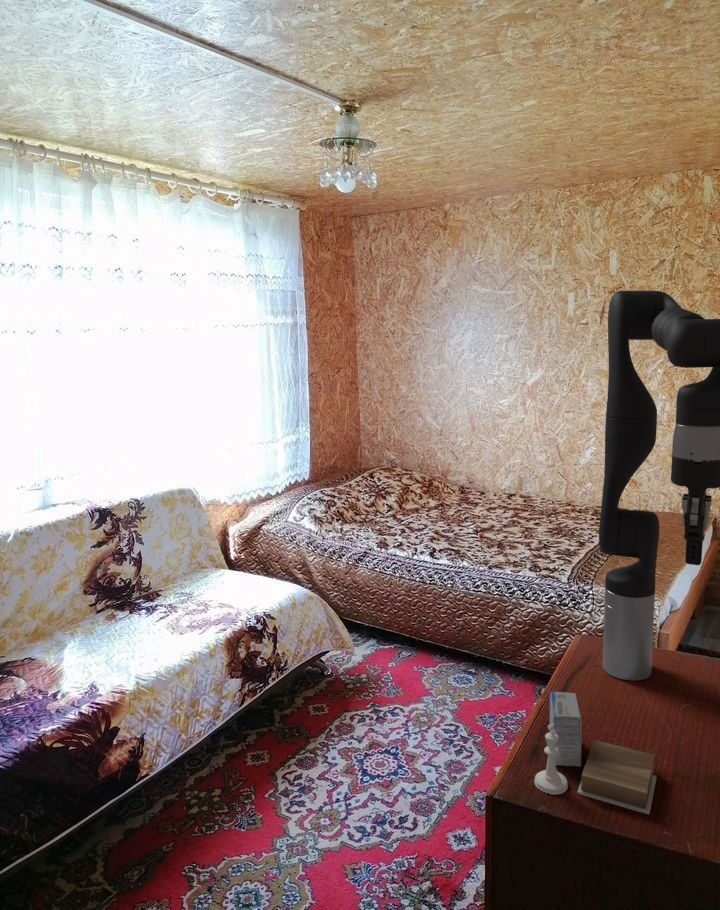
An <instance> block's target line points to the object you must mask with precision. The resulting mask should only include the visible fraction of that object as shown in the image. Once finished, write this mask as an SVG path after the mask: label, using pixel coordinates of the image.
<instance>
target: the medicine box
mask: <svg viewBox="0 0 720 910" xmlns="http://www.w3.org/2000/svg"><path fill="white" fill-rule="evenodd" d="M552 723H553V724H554V729H555V730H556V731H557V733H556V734H557V735H558V736H559V740H558V742H557V745H556V748H557V749H558V750H559V754H558V755H555V761H556V766H562V767H577V768H580V767H582V737H583V736H582V726H583V725H582V723H583V720H582V714H581V710H580V705H579V701H578V695H577V693H575V692H566V691H565V692H564V691H550V693H549V725H550V724H552ZM548 730H549V729H548ZM548 732H550V730H549V731H548Z"/></svg>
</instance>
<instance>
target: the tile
mask: <svg viewBox="0 0 720 910" xmlns="http://www.w3.org/2000/svg"><path fill="white" fill-rule="evenodd" d="M655 759H656V756H655V754H653V753H650V752H645V751H641V750H639V749H638V750H637V749H634V748H630V747H625V746H621V745H619V744H618V745H617V744H613V743H609V742H606V741H602V740H598V739H594V740H593V742H592V745H591V748H590V751H589V754H588V757H587V760H586V762H585V765H584V767H583V770H582V773H581V780H582V781H581V780H580V782H581V790H582V791H586V792H589V793H593V794H596V795H600V796H603V797H607V798H610V799H614V800H617V801H621V802H624V803H628V804H631V805H635V806H638V807H642V808H645V809H646V807H647V802H648V797H649V792H650V787H651V782H652V777H653V775H654V772H655V771H654V770H655Z"/></svg>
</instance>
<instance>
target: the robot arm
mask: <svg viewBox="0 0 720 910" xmlns="http://www.w3.org/2000/svg"><path fill="white" fill-rule="evenodd" d="M652 340H653V341H654V342H655V343H656V345H658V346H659V348H661V349H663V350H664V351H666V355H667V358H668V361H669V362H670V364H671V365H673V366H676V367H678V368H683V369H685V368H686V369H691V368H692V369H693V368H697V369H698V368H711V370H710V372H709V374H708V376H706V378H704V379H703V380H701V381H697V382H693V383H688V384H685V385H683V386H681V387H680V388H679V389H678V390H677V393H676V406H675V407H676V408H675V425H674V426H675V427H674V432H673V436H672V449H671V452H672V453H671V468H670V469H671V470H670V471H671V472H670V481H671V483H673V484H674V485H676V486H679V487H685V488H687V493H683V496H681V509H682V526H683V527H684V534H683V538H684V541H685V542H686V543H685V544H686V545H685V559H684V560H685V564H687V565H693V566H700V565H701V564H702V560H703V559H702V558H703V543H704V541H705V537H706V534H705V531H706V530H707V528H708V526H709V520H710V519H709V516H710V511H711V506H712V499H713V495H708V494H707V489H712V490H713V489H719V488H720V318H705V317H704V316H702V315H700V314H698V313H697V312H693V311H691V310H687V309H684V308H683V307H682V306H681V305H680V304H679V303H678V302H677V301H676V300H675V298H673V297H672V296H671V295H669V294H668V293H666V292H664V291H661V290H618V291H616V292H614V294H613V295H612V296H611V298H610V301H609V305H608V312H607V341H608V342H607V345H608V347H607V348H608V349H607V350H608V378H607V379H608V383H607V397H606V398H607V400H606V409H605V410H606V411H605V423H604V424H605V425H604V427H605V430H604V432H605V433H604V476H603V477H604V478H603V488H602V497H601V505H600V506H601V508H600V515H599V516H600V517H599V523H598V524H599V527H598V543H599V549H600V551H601V552H602V553H603V554H605V555H608V556H616V557H623V558H633V559H638V560H637V561H636V562H635V563H633V564H629V565H625V566H622V567H618V568H614V569H612V570H611V569H610V571H608V572H607V573H606V575H605V579H604V580H605V581H604V583H605V584H604V608H603V609H604V616H603V617H604V618H603V638H602V639H603V643H602V644H603V646H602V669H603V671H605V673H606V674H608V675H610V676H612V677H614V678H617V679H621V680H625V681H632V682H633V681H643V680H646V679H648V678H650V676H651V675H652V665H653V647H654V645H653V643H654V625H655V624H654V622H655V601H656V600H655V599H656V597H655V596H656V574H657V573H656V571H657V559H658V550H659V549H658V548H659V539H660V521H659V517H658V515H657V514H656V512H653V511H647V510H638V509H637V510H635V509H624V508H623V509H622V508H619V503H620V500H621V498H622V494H623V492H624V491H625V488H626V487H627V485H628V483H629V482H630V481H631V479H632V478H633V476H634V474H636V472H637V471H638V470H639V468H640V467H641V466H642V465H643V463H644V462H645V461H646V459H648V457H649V456H650V454H651V452H652V451H653V449H654V447H655V445H656V441H657V430H658V429H657V426H658V408H657V406H656V402H655V401H654V399H653V396H652V395H651V393H650V392H649V390H648V389H647V387H646V385H645V384H644V382H643V381H642V379H641V378H640V376H639V374H638V372H637V370H636V368H635V366H634V363H633V361H632V360H633V359H632V356H631V352H630V342H629V341H652Z"/></svg>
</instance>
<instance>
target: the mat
mask: <svg viewBox="0 0 720 910" xmlns="http://www.w3.org/2000/svg"><path fill="white" fill-rule="evenodd" d="M581 781H582V779H581V780H580V781H579V786H578V788H577V791H576V794H577V795H580V796H584V797H587V798H589V799H594V800H597V801H601V802H604V803H608V804H611V805H615V806H618V807H622V808H624V809H629V810H631V811H636V812H638V813H642V814H645V815H650V813H651V808H652V803H653V799H654V798H653V797H654V793H655V787H656V783H657V775H655V774H653V777H652V782H651V787H650V792H649V797H648V802H647V807H646V809H645V808H642V807H638V806H635V805H631V804H628V803H624V802H621V801H617V800H614V799H610V798H607V797H603V796H600V795H596V794H593V793H589V792H586V791H582V790H581Z"/></svg>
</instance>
